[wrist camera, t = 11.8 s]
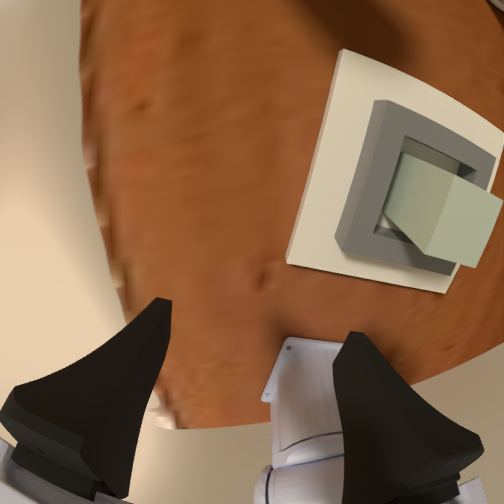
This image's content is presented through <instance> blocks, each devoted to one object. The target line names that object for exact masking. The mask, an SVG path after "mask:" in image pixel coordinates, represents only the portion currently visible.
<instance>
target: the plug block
mask: <svg viewBox="0 0 504 504" xmlns="http://www.w3.org/2000/svg"><path fill="white" fill-rule="evenodd" d="M502 203H503V200H501V199H499V198H498V197H496V196H494V195H492V194H491V193H489V192H487V191H485V190H483V189H482V188H480V187H478V186H476V185H474V184H472V183H470V182H468V181H466V180H464V179H462V178H460V177H458V176H456V175H454V174H452V173H450V172H448V171H446V170H443V169H441V168H439V167H437V166H434V165H432V164H430V163H427V162H425V161H423V160H420V159H418V158H415V157H413V156H410V155H408V154H405V153H403V152H400V154H399V158H398V161H397V164H396V167H395V171H394V174H393V177H392V180H391V183H390V186H389V189H388V192H387V195H386V198H385V201H384V204H383V207H382V210H381V211H383V212H384V213H385V214H386V215H387V216H388V217H389V218H390V219H391V220H392V221H393V222H394V223H395V224H396V225H397V226H398V227H399V228H400V229H401V230H402V231H403V232H404V233H405V234H406V235H407V236H408V237H409V238H410V239H411V240H412V241H413V242H414V244H415V245H416V246H417V247H418V248H419V249H420V250H421V251H422V252H423V253H424V254H426V255H430V256H433V257H437V258H441V259H444V260H448V261H452V262H455V263H459V264H462V265H466V266H469V267H473V268H475V267H476V265H477V263H478V261H479V259H480V257H481V255H482V253H483V250H484V248H485V246H486V244H487V241H488V239H489V237H490V234H491V232H492V230H493V227H494V225H495V222H496V220H497V217H498V214H499V212H500V209H501V206H502Z"/></svg>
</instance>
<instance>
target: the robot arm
mask: <svg viewBox="0 0 504 504" xmlns="http://www.w3.org/2000/svg"><path fill="white" fill-rule="evenodd" d="M171 312H172V301H171V300H167V299H162V298H158V297H157V298H155V299H154V300H153V301H152V302H151V303H150V304H149V305H148V306H147V307H146V308H145V309H144V310H143V311H142V312H141V313H140V314H139V315H138V316H137V317H136V318H134V319H133V320H132V321H131V322H130V323H129V324H128V325H127V326H125V327H124V328H123V329H122V330H121V331H120V332H118V333H117V334H116V335H115V336H113V337H112V338H111V339H110V340H108V341H107V342H106V343H104V344H103V345H102V346H100V347H99V348H97V349H96V350H94V351H93V352H92V353H90V354H88V355H87V356H85V357H83V358H82V359H80V360H78V361H76V362H75V363H73V364H71V365H69V366H67V367H65V368H63V369H61V370H59V371H57V372H55V373H52V374H50V375H48V376H45V377H43V378H40V379H37V380H34V381H31V382H28V383H25V384H22V385H18V386H15V387H14V388H13V390H12V391H11V393H10V394H9V396H8V398H7V399H6V401H5V403H4V405H3V407H2V409H1V410H0V422H1V423H2V425H3V426H4V427H5V428H6V430H7V431H8V432H9V433H10V434H11V435H12V436H13V437H14V438H15V440H17V442H18V443H17V445H16V447H15V448H14V447H13V446H12V445H11V444H9V443H8V442H6V441H5V440H4V439H2V438H0V504H133V503H130V502H126V501H123V500H121V499H124V498H126V497H127V496H128V494H129V486H130V479H131V473H132V467H133V461H134V456H135V451H136V446H137V442H138V437H139V433H140V429H141V424H142V420H143V416H144V412H145V409H146V406H147V403H148V401H149V398H150V395H151V393H152V390H153V388H154V385H155V383H156V380H157V378H158V375H159V372H160V370H161V367H162V365H163V362H164V360H165V356H166V352H167V349H168V345H169V341H170V333H171ZM287 346H290V347H287ZM261 400H262V401H264V402H271V448H272V452H273V454H272V461H273V462H272V465H268V466H266V467H265V468H264V469H263V470H262V472H261V473H260V475H259V476H258V478H257V480H256V483H255V488H254V504H487V500H486V496H485V493H484V489H483V486H482V483H481V480H480V477H476V478H474V479H471V480H469V481H467V482H464V483H462V484H460V485H457V481H458V480H459V479H460V474H459V472H460V471H461V470H463V469H465V468H466V467H467V466H469V465H470V464H471V463H473V462H474V461H476V460H477V459H478V458H479V457H480V456H481V455H482V454H483V452H484V447H483V445H482V442H481V440H480V437H479V435H477V434H476V433H474V432H472V431H470V430H468V429H465V428H464V427H462V426H460V425H458V424H457V423H455V422H453V421H452V420H450V419H449V418H447V417H446V416H444V415H443V414H441V413H440V412H439V411H437V410H436V409H435V408H433V407H432V406H431V405H430V404H429V403H427V402H426V401H425V400H424V399H423V398H422V397H420V395H418V394H417V393H416V392H415V391H414V390H413V389H412V388H411V387H410V386H409V385H408V384H407V383H406V382H405V381H404V379H403V378H402V377H401V376H400V375H399V374H398V373H397V372H396V371H395V369H394V368H393V367H392V366H391V365H390V364H389V362H388V361H387V360H386V359H385V358H384V356H383V355H382V354H381V353H380V352H379V350H378V349H377V348H376V347H375V346H374V344H373V343H372V342H371V341H370V340H369V338H368V337H367V336H366V335H365V334H364V333H363V332H354V331H350V333H349V334H348V336H347V338H346V340H345V342H344V343H336V342H327V341H319V340H311V339H304V338H296V337H288V338H286V339H285V341H284V343H283V346H282V348H281V351H280V353H279V356H278V358H277V361H276V363H275V365H274V368H273V370H272V373H271V375H270V377H269V380H268V382H267V384H266V387H265V389H264V391H263V394H262V396H261Z"/></svg>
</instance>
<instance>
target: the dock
mask: <svg viewBox="0 0 504 504" xmlns="http://www.w3.org/2000/svg"><path fill="white" fill-rule="evenodd" d="M503 145H504V133H503V132H502V131H500V130H499V129H498V128H496V127H495V126H494V125H492V124H491V123H489V122H488V121H487V120H485V119H484V118H482V117H481V116H479V115H478V114H476V113H475V112H473V111H472V110H470V109H469V108H467V107H466V106H464V105H462V104H461V103H459V102H458V101H456V100H454V99H453V98H451V97H449V96H448V95H446V94H444V93H442V92H440V91H439V90H437V89H435V88H433V87H431V86H429V85H428V84H426V83H424V82H422V81H420V80H418V79H416V78H414V77H412V76H410V75H408V74H406V73H403V72H401V71H399V70H397V69H395V68H392V67H390V66H388V65H385V64H383V63H381V62H378V61H376V60H373V59H371V58H368V57H366V56H363V55H360V54H358V53H355V52H352V51H349V50H346V49H342V50H340V51H339V54H338V58H337V62H336V67H335V71H334V75H333V80H332V84H331V88H330V92H329V96H328V100H327V105H326V109H325V113H324V117H323V121H322V125H321V129H320V132H319V136H318V140H317V144H316V148H315V152H314V156H313V159H312V163H311V167H310V171H309V174H308V178H307V182H306V185H305V189H304V193H303V196H302V200H301V203H300V207H299V211H298V214H297V218H296V221H295V225H294V228H293V232H292V235H291V238H290V242H289V245H288V249H287V252H286V255H285V256H286V263H289V264H294V265H299V266H304V267H309V268H315V269H320V270H325V271H330V272H335V273H340V274H345V275H351V276H356V277H361V278H366V279H371V280H376V281H382V282H387V283H392V284H397V285H403V286H408V287H413V288H418V289H423V290H429V291H434V292H439V293H446V291H447V289H448V287H449V285H450V283H451V282H452V280H453V278H454V276H455V274H456V272H457V270H458V268H459V266H460V264H459V263H455V262H452V261H448V260H444V259H441V258H437V257H433V256H430V255H426V254H424V253H423V252H422V251H421V250H420V249H419V248H418V247H417V246H416V245H415V244H414V242H413V241H412V240H411V239H410V238H409V237H408V236H407V235H406V234H405V233H404V232H403V231H402V230H401V229H400V228H399V227H398V226H397V225H396V224H395V223H394V222H393V221H392V220H391V219H390V218H389V217H388V216H387V215H386V214H385V213H384V212H383V211H381V210H382V207H383V204H384V201H385V198H386V195H387V192H388V189H389V186H390V183H391V180H392V177H393V174H394V171H395V167H396V164H397V161H398V158H399V154H400V152H403V153H405V154H408V155H410V156H413V157H415V158H418V159H420V160H423V161H425V162H427V163H430V164H432V165H434V166H437V167H439V168H441V169H443V170H446V171H448V172H450V173H452V174H454V175H456V176H458V177H460V178H462V179H464V180H466V181H468V182H470V183H472V184H474V185H476V186H478V187H480V188H482V189H483V190H485V191H487V192H489V193H490V190H491V187H492V184H493V181H494V178H495V174H496V171H497V168H498V164H499V161H500V157H501V153H502V149H503Z"/></svg>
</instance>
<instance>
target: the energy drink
mask: <svg viewBox="0 0 504 504" xmlns="http://www.w3.org/2000/svg"><path fill="white" fill-rule="evenodd" d="M489 1H490V2H491V3H492V4H493V5H494V6H496V7H497V8H499V9H500V10H502V11H503V12H504V0H489Z"/></svg>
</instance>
